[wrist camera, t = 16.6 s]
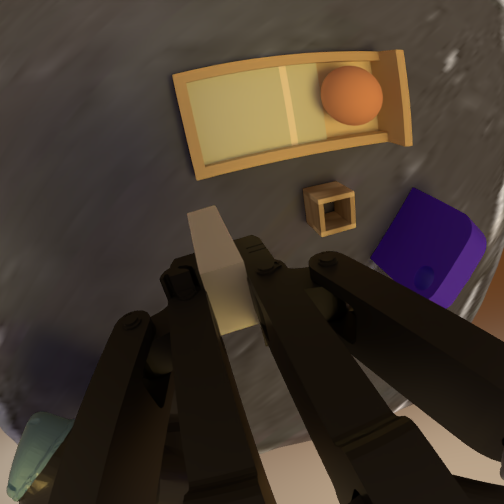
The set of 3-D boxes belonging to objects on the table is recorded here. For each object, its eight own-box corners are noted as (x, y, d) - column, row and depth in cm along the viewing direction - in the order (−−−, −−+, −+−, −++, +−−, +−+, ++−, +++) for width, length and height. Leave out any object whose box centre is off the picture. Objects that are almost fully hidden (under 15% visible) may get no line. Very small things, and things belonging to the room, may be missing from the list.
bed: (195, 175, 30) (199, 189, 26) (172, 76, 25) (171, 71, 21) (385, 137, 32) (412, 145, 28) (375, 53, 28) (403, 50, 23)
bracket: (369, 257, 40) (423, 309, 30) (412, 186, 36) (478, 221, 26) (434, 293, 47) (479, 334, 37) (468, 238, 44) (518, 273, 33)
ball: (398, 122, 27) (352, 120, 31) (389, 63, 24) (343, 68, 29) (362, 131, 24) (313, 129, 29) (350, 62, 21) (302, 71, 26)
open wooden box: (306, 222, 35) (321, 237, 32) (302, 188, 33) (318, 200, 30) (338, 214, 36) (355, 227, 32) (336, 181, 34) (354, 191, 30)
